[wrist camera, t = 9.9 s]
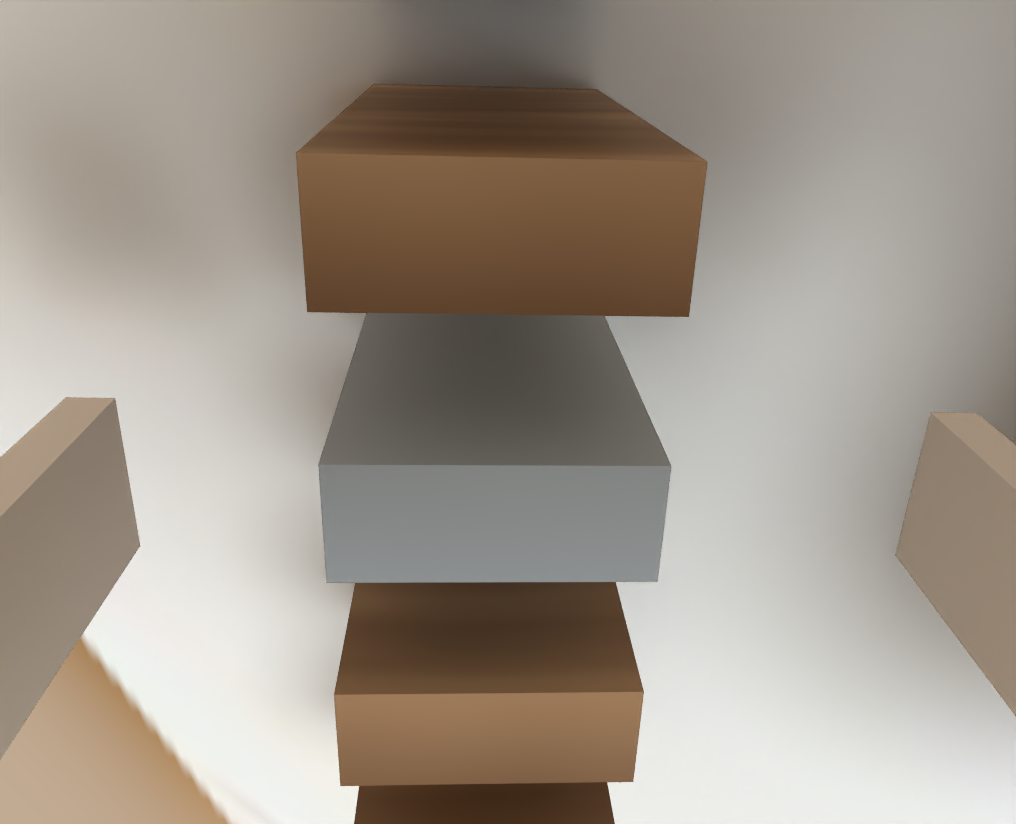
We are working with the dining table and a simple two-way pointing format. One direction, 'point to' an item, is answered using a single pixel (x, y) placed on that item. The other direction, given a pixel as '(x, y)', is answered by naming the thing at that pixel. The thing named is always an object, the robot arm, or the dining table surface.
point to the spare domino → (491, 455)
